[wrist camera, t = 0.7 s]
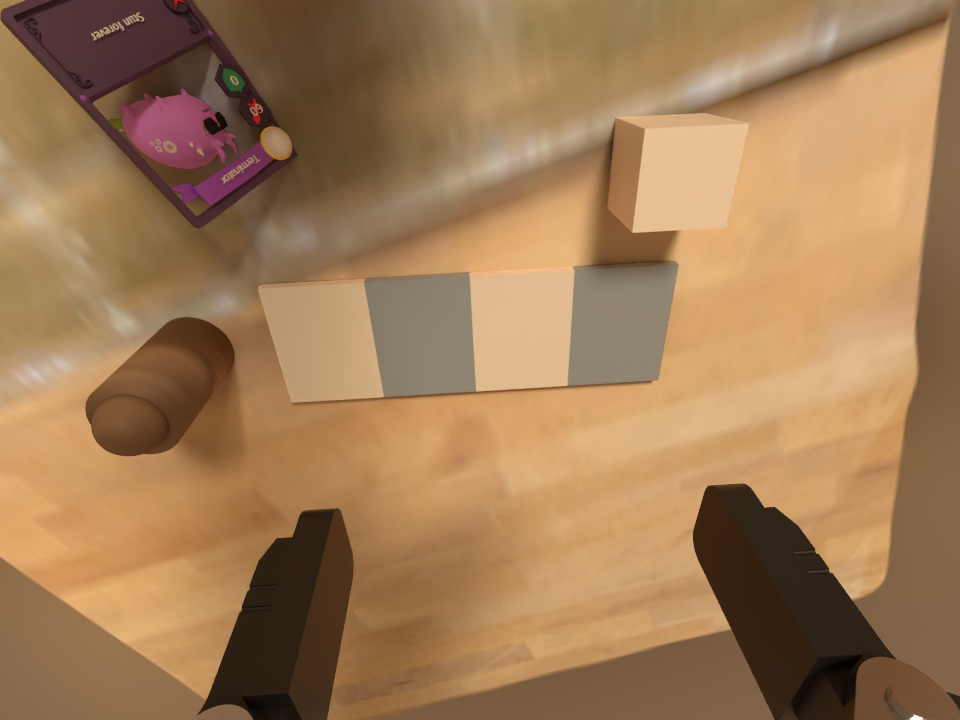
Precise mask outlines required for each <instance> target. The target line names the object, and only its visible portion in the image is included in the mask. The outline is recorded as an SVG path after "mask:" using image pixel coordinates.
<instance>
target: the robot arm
mask: <svg viewBox="0 0 960 720" xmlns="http://www.w3.org/2000/svg"><path fill="white" fill-rule="evenodd" d="M693 543H694V549H695V552H696V556H697V558H698V561H699V563H700V565H701V567H702V569H703V571H704V573H705V575H706V577H707V579H708V581H709V584H710V586H711V588H712V590H713V592H714V594H715V596H716V598H717V600H718V602H719V604H720V606H721V609H722V611H723V613H724V615H725V617H726V619H727V621H728V623H729V625H730V627H731V629H732V631H733V634H734V635H735V638H736V640H737V642H738V644H739V646H740V648H741V650H742V652H743V654H744V656H745V658H746V661H747V663H748V665H749V667H750V669H751V671H752V673H753V675H754V677H755V679H756V681H757V683H758V685H759V688H760V690H761V692H762V694H763V696H764V698H765V700H766V702H767V704H768V706H769V709H770V711H771V713H772V715H773V717H774V719H775V720H960V696H957V695H954V694H951V693H948V692H946V691H945V690H944V689H943V688H942V687H941V686H939V684H937V683H936V682H935V681H934V680H933V679H931V678H930V677H929V676H928V675H926V674H925V673H923V672H922V671H920V670H919V669H917V668H915V667H913V666H911V665H909V664H907V663H905V662H902V661H900V660H897V659H896V658H895V657H894V656H893V655H892V654H891V653H890V652H889V650H888V649H887V648H886V647H885V645H884V644H883V642H882V641H881V640H880V638H879V637H878V636H877V634H876V633H875V631H874V630H873V629H872V627H871V626H870V625H869V623H868V622H867V620H866V619H865V618H864V616H863V615H862V613H861V612H860V611H859V609H858V608H857V606H856V605H855V604H854V602H853V601H852V600H851V598H850V597H849V595H848V594H847V593H846V591H845V590H844V588H843V587H842V586H841V584H840V583H839V582H838V580H837V579H836V577H835V576H834V575H833V573H830V572H829V568H828V566H827V565H826V564H825V562H824V561H823V559H822V558H821V557H820V555H819V554H816V552H815V548H814V547H813V546H812V544H811V543H810V541H809V540H808V539H807V537H806V536H805V534H804V533H803V532H802V530H801V529H800V528H799V526H798V525H796V524H795V523H794V522H793V521H791V520H790V519H789V518H788V517H786V516H785V515H784V514H783V513H781V512H780V511H779V510H778V509H777V508H775V507H767V508H764V506H763V505H762V503H761V502H760V501H759V499H758V498H757V496H756V495H755V493H754V492H753V490H752V489H751V488H750V487H749V486H748V485H746V484H727V485H711V486H708V487H707V488H706V490H705V492H704V496H703V499H702V503H701V506H700V509H699V513H698V516H697V520H696V523H695V527H694V530H693ZM352 579H353V554H352V549H351V546H350V542H349V539H348V535H347V531H346V528H345V524H344V521H343V517H342V513H341V511H340V509H338V508H336V509H320V510H305V511H303V512H302V513H301V514H300V516H299V519H298V522H297V525H296V528H295V532H294V535H293V537H291V538H277V539H276V540H275V541H274V543H273V544H272V545H271V546H270V548H269V549H268V550H267V551H266V552H265V554H264V555H263V556H262V557H261V559H260V560H259V562H258V564H257V567H256V570H255V572H254V575H253V578H252V580H251V583H250V589H249V591H247V594H246V597H245V599H244V602H243V605H242V611H241V612H240V613H239V615H238V618H237V621H236V623H235V626H234V629H233V632H232V634H231V637H230V640H229V642H228V645H227V648H226V650H225V653H224V656H223V658H222V661H221V664H220V666H219V669H218V672H217V675H216V677H215V680H214V683H213V685H212V688H211V691H210V693H209V695H208V698H207V700H206V702H205V704H204V706H203V707H202V709H201V711H200V712H199V713H198V715H197V716H196V717H194V718H193V719H192V720H327V716H328V711H329V705H330V700H331V694H332V689H333V683H334V678H335V672H336V667H337V662H338V656H339V651H340V645H341V640H342V634H343V629H344V623H345V618H346V613H347V607H348V602H349V596H350V591H351V585H352Z"/></svg>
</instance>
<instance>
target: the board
mask: <svg viewBox="0 0 960 720" xmlns="http://www.w3.org/2000/svg"><path fill="white" fill-rule="evenodd" d="M677 271H678V264H677V263H676V262H675V261H664V262H646V263H629V264H611V265H594V266H576V267H558V268H541V269H523V270H506V271H488V272H470V273H453V274H435V275H418V276H400V277H382V278H365V279H347V280H330V281H312V282H295V283H277V284H261V285H260V286H259V287H258V288H257V289H258V293H259V296H260V299H261V303H262V306H263V309H264V313H265V316H266V320H267V323H268V326H269V330H270V333H271V336H272V340H273V343H274V346H275V350H276V353H277V357H278V360H279V363H280V367H281V370H282V373H283V377H284V380H285V383H286V387H287V390H288V394H289V397H290V400H291V403H298V402H314V401H330V400H347V399H363V398H379V397H395V396H411V395H428V394H444V393H460V392H476V391H492V390H509V389H525V388H541V387H557V386H573V385H590V384H606V383H622V382H638V381H654V380H658V378H659V372H660V367H661V361H662V355H663V350H664V344H665V338H666V333H667V327H668V321H669V316H670V310H671V304H672V299H673V293H674V287H675V282H676V276H677Z"/></svg>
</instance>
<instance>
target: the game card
mask: <svg viewBox="0 0 960 720" xmlns="http://www.w3.org/2000/svg"><path fill="white" fill-rule="evenodd" d="M1 21H2V23H3V24H4V25H5V26H6V27H7V28H8V29H9V30H10V31H11V32H12V33H13V35H14V36H15V37H16V38H17V39H18V40H19V41H20V42H21V43H22V44H23V45H24V46H25V47H26V48H27V49H28V51H29V52H30V53H31V54H32V55H33V56H34V57H35V58H36V59H37V60H38V61H39V62H40V63H41V64H42V65H43V66H44V68H45V69H46V70H47V71H48V72H49V73H50V74H51V75H52V76H53V77H54V78H55V79H56V80H57V81H58V82H59V84H60V85H61V86H62V87H63V88H64V89H65V90H66V91H67V92H68V93H69V94H70V95H71V96H72V97H73V98H74V100H75V101H76V102H77V103H78V104H79V105H80V106H81V107H82V108H83V109H84V110H85V111H86V112H87V113H88V114H89V116H90V117H91V118H92V119H93V120H94V121H95V122H96V123H97V124H98V125H99V126H100V127H101V128H102V129H103V130H104V132H105V133H106V134H107V135H108V136H109V137H110V138H111V139H112V140H113V141H114V142H115V143H116V144H117V145H118V146H119V148H120V149H121V150H122V151H123V152H124V153H125V154H126V155H127V156H128V157H129V158H130V159H131V160H132V161H133V162H134V164H135V165H136V166H137V167H138V168H139V169H140V170H141V171H142V172H143V173H144V174H145V175H146V176H147V177H148V178H149V179H150V181H151V182H152V183H153V184H154V185H155V186H156V187H157V188H158V189H159V190H160V191H161V192H162V193H163V194H164V195H165V197H166V198H167V199H168V200H169V201H170V202H171V203H172V204H173V205H174V206H175V207H176V208H177V209H178V210H179V211H180V213H181V214H182V215H183V216H184V217H185V218H186V219H187V220H188V221H189V222H190V223H191V224H192V225H193V226H194V227H196V228H201V227H203V226H205V225H206V224H208V223H209V222H210V221H212V220H213V219H214V218H215V217H217V216H218V215H219V214H221V213H222V212H223V211H225V210H226V209H227V208H229V207H230V206H231V205H233V204H234V203H235V202H237V201H238V200H239V199H241V198H242V197H243V196H244V195H246V194H247V193H248V192H250V191H251V190H252V189H254V188H255V187H256V186H258V185H259V184H260V183H262V182H263V181H264V180H266V179H267V178H268V177H269V176H271V175H272V174H273V173H275V172H276V171H277V170H279V169H280V168H281V167H283V166H284V165H285V164H287V163H288V162H289V161H291V160H292V159H293V158H294V157H296V156H297V155H298V154H297V153H296V151H295V150H294V148H292V143H291V140H290V138H289V136H288V135H287V134H286V133H285V132H284V131H283V130H282V129H281V128H280V127H279V125H278V124H277V122H276V120H275V119H274V117H273V116H272V114H271V111H270V110H269V108H268V107H267V106H266V104H265V103H264V102H263V100H262V99H261V97H260V96H259V94H258V93H257V91H256V90H255V88H254V86H253V85H252V83H251V82H250V80H249V79H248V77H247V76H246V74H245V73H244V71H243V70H242V68H241V67H240V66H239V64H238V63H237V62H236V60H235V59H234V58H233V56H232V55H231V53H230V52H229V51H228V49H227V48H226V47H225V45H224V44H223V42H222V41H221V40H220V38H219V37H218V36H217V34H216V33H215V32H214V30H213V29H212V27H211V26H210V25H209V23H208V22H207V21H206V19H205V18H204V16H203V15H202V14H201V12H200V11H199V10H198V8H197V7H196V6H195V4H194V3H193V1H192V0H26V1H23V2H20V3H18V4H15V5H13V6H10V7H7V8H5V9H3V10H2V11H1ZM204 43H208V44H209V45H210V46H211V48H212V49H213V50H214V52H215V53H216V54H217V56H218V57H219V58H220V60H221V61H222V62H223V64H220V65H219V68H218V71H217V74H216V77H215V81H216V82H217V83H218V85H219V86H220V87H221V89H222V90H223V91H224V92H225V94H226V95H227V96H228V97H237V98H242V99H241V102H240V106H239V109H238V111H239V112H240V113H241V115H242V116H243V117H244V118H245V120H246V121H247V122H248V124H249V125H250V126H259V127H266V128H265V129H264V130H263V131H262V133H261V137H260V140H261V141H260V142H259V143H257V144H256V145H254V146H253V147H252V148H251V149H249V150H248V151H247V152H246V153H245V154H243V155H242V156H241V157H239V158H238V159H237V160H235V161H234V162H232V163H231V164H229V165H228V166H226V167H225V168H223V169H222V170H220V171H219V172H217V173H216V174H214V175H212V176H211V177H209V178H208V179H206V180H205V181H203V182H202V183H200V184H199V185H197V186H195V187H194V186H193V185H192V184H191V183H187V184H183V185H179V186H176V187H173V188H170V187H169V186H168V185H167V184H166V183H165V182H164V181H163V180H162V179H161V178H160V177H159V176H158V174H157V173H156V172H155V171H154V170H153V169H152V168H151V167H150V166H149V165H148V164H147V163H146V161H145V160H144V159H143V158H142V157H141V156H140V155H139V154H138V153H137V152H136V151H135V150H134V148H133V147H132V146H131V145H130V144H129V143H128V142H127V141H126V140H125V139H124V138H123V137H122V135H121V134H120V133H119V132H121V131H122V132H123V133H124V130H125V133H126V135H127V136H128V138H129V139H130V141H131V142H132V143H133V144H134V145H135V147H136V148H138V149H139V150H140V151H141V152H142V153H144V154H145V155H146V156H148V157H150V158H151V159H153V160H155V161H157V162H159V163H162V164H164V165H167V166H171V167H175V168H181V169H195V168H199V167H202V166H205V165H207V164H208V163H210V162H211V161H212V160H213V159H214V158H215V157H216V156H217V155H218V154H219V156H220V159H221V162H222V164H224V163H225V161H226V155H225V153H224V151H223V149H222V146H224V143H226V144H228V145H229V146H230V147H231V148H232V149H233V151H234V153H235V155H237V153H238V149H237V147H236V146H235V144H234V143H233V142H232V140H231V139H233V138H236V137H235V136H234V135H233V134H231V133H227V132H225V130H224V128H226V127H227V126H228V125H227V123H226V120H225V118H224V117H223V116H222V115H221V113H220V112H217V113H216V112H215V110H214V109H213V108H212V107H211V106H209V105H208V104H207V103H206V102H204V101H202V100H201V99H199V98H196V97H194V96H190V95H189V94H188V93H187V92H186V90H185V89H184V88H183V87H180V89H181V95H175V96H169V97H163V98H160V97H158V96H156V98H153V97H151V96H150V95H149V94H144V97H145V99H144V100H140V101H136V102H134V103H132V104H130V105H129V106H128V105H126V104H124V103H119V106H120V107H121V109H122V110H123V111H124V113H123V117H122V118H119V119H111V120H107V119H106V118H105V117H104V116H103V115H102V114H101V113H100V112H99V111H98V109H97V108H96V107H95V106H94V105H93V104H92V103H93V102H94V101H95V100H97V99H99V98H101V97H103V96H105V95H107V94H109V93H111V92H112V91H114V90H116V89H118V88H120V87H122V86H124V85H126V84H128V83H130V82H132V81H133V80H135V79H137V78H139V77H141V76H143V75H145V74H147V73H149V72H151V71H153V70H154V69H156V68H158V67H160V66H162V65H164V64H166V63H168V62H170V61H172V60H174V59H175V58H177V57H179V56H181V55H183V54H185V53H187V52H189V51H191V50H193V49H195V48H196V47H198V46H200V45H202V44H204ZM246 94H247V95H246ZM268 121H270V122H271V123H272V124H273V125H274V126H269V127H267V125H268ZM117 130H119V132H118V131H117ZM273 159H275V160H273ZM272 160H273V161H272ZM271 161H272V162H271ZM269 162H271V163H269ZM268 163H269V164H268ZM267 164H268V165H267ZM266 165H267V166H266ZM263 167H264V168H263ZM262 168H263V169H262ZM172 190H173V191H175V192H178V193H181V194H182V195H183V200H181V199H180V198H179V197H178V196H177V195H176V194H175V193H174V192H173V191H172ZM224 196H225V197H224ZM200 197H201V198H202V199H203V200H204V201H205V202H206V203H207V204H208V205H212V204H214V203H215V204H214V205H213V206H211V207H210V208H209V209H207V210H206V211H205V212H203V213H202V214H200V215H199V216H195V215H194V214H193V212H192V211H191V210H190V209H189V208H188V207H187V206H186V205H185V204H186V203H188V202H189V201H191V200H194V199H196V198H200ZM221 198H222V199H221ZM220 199H221V200H220ZM218 200H219V201H218ZM217 201H218V202H217ZM216 202H217V203H216Z"/></svg>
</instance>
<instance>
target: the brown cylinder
mask: <svg viewBox="0 0 960 720" xmlns="http://www.w3.org/2000/svg"><path fill="white" fill-rule="evenodd" d="M233 362H234V350H233V347H232V344H231V342H230V341H229V339H228V338H227V336H226V335H225V334H224V333H223V332H222V331H221V330H220V329H219V328H217V327H216V326H214V325H212V324H211V323H209V322H206V321H204V320H201V319H197V318H191V317H183V318H177V319H174V320H171V321H169V322H168V323H166V324H165V325H164V326H163V327H162V328H161V329H160V330H159V331H158V332H157V333H156V334H155V335H153V336H152V337H151V338H150V339H149V340H148V341H147V342H146V343H145V344H144V345H143V346H142V347H141V348H140V349H139V350H137V351H136V352H135V353H134V354H133V355H132V356H131V357H130V358H129V359H128V360H127V361H126V362H125V363H124V364H123V365H121V366H120V367H119V368H118V369H117V370H116V371H115V372H114V373H113V374H112V375H111V376H110V377H109V378H108V379H106V380H105V381H104V382H103V383H102V384H101V385H100V386H99V387H98V388H97V389H96V390H95V391H94V392H93V393H92V394H91V395H90V396H89V398H88V400H87V402H86V415H87V418H88V421H89V423H90V424H91V428H92V433H93V436H94V438H95V440H96V442H97V443H98V444H99V445H100V446H101V447H102V448H103V449H105V450H106V451H108V452H110V453H113V454H116V455H120V456H137V455H141V454H157V453H161V452H165V451H167V450H169V449H171V448H173V447H174V446H175V445H176V444H177V443H178V442H179V440H180V439H181V438H182V436H183V435H184V433H185V432H186V431H187V429H188V428H189V426H190V425H191V423H192V422H193V421H194V419H195V418H196V416H197V415H198V414H199V412H200V411H201V409H202V408H203V407H204V405H205V404H206V402H207V401H208V399H209V398H210V397H211V395H212V394H213V392H214V391H215V390H216V388H217V387H218V385H219V384H220V383H221V381H222V380H223V378H224V377H225V375H226V374H227V373H228V371H229V370H230V368H231V367H232V365H233Z"/></svg>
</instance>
